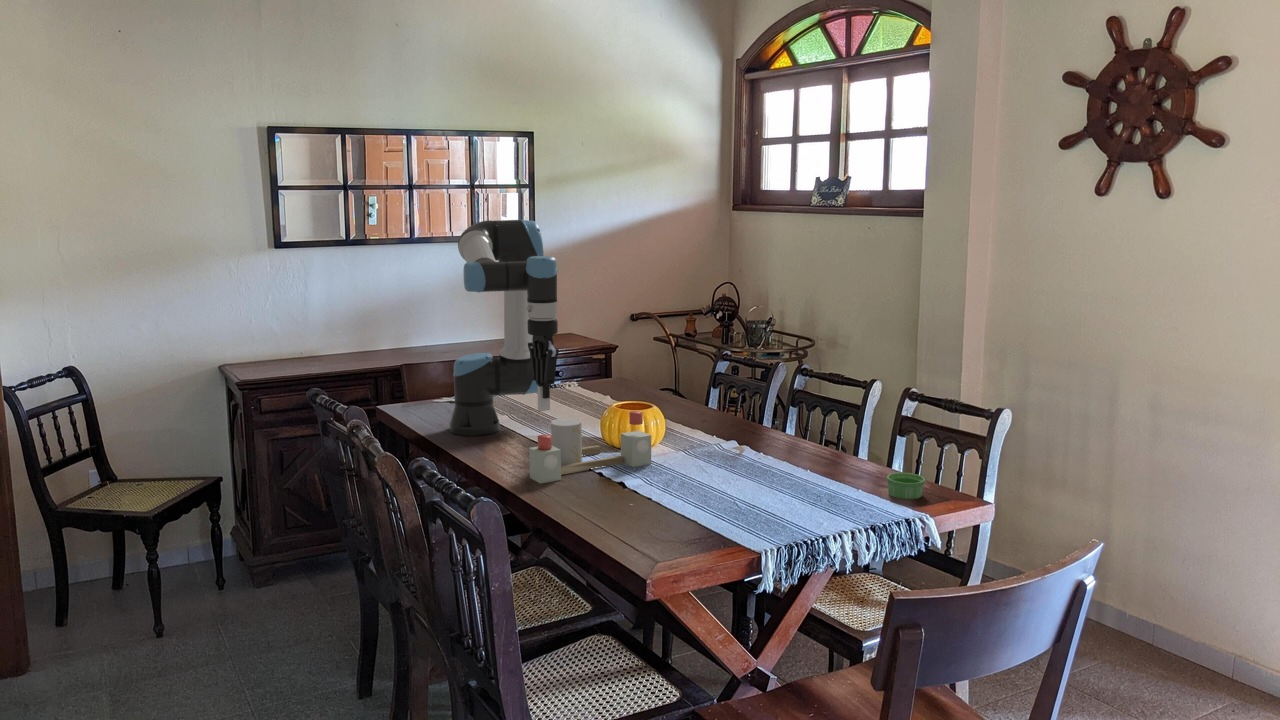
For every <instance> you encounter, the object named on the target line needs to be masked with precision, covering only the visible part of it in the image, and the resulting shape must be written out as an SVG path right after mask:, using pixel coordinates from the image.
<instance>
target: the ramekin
mask: <svg viewBox="0 0 1280 720" xmlns="http://www.w3.org/2000/svg"><path fill="white" fill-rule="evenodd" d="M886 479H887V489H888V490H887V491H888V495H889V496H891V497H893V498H896V499H900V500H918V499H920V498H922V496H923V494H924V493H923V491H924V486H925V485H924V484H925V482H926V479H925V477H924V476H922V475H921V474H920V475H919V474H916V473H912V472H893V473H890V474H888V475H887V476H886Z"/></svg>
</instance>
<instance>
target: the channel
mask: <svg viewBox="0 0 1280 720" xmlns="http://www.w3.org/2000/svg"><path fill="white" fill-rule="evenodd" d="M597 453H598V454H601V446H600V445H591V446H583V447H582V455H583V456H582V457H585V456H584V455H587V456H592V455H591V454H593V455H598V454H597ZM618 464H620V465H624V463H623V457H622V456H621V455H615V456H610V457H605V458H604V457H603V458H598V459H597V458H596V459H592V460H587V461H582V462H579V463H573V464H567V465H561V476H562V475H568V474H573V473H578V472H583V471H584V472H585V471H590V470H589V469H591V468H595V467H602V466H608V467H611V466H610V465H614V466H619V465H618ZM591 470H592V469H591Z"/></svg>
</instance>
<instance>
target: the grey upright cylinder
mask: <svg viewBox="0 0 1280 720" xmlns="http://www.w3.org/2000/svg"><path fill="white" fill-rule="evenodd" d="M550 425H551V426H550V431H551V432H550V435H551V436H552V446H554V447H556V448H558V449H560V450H561V465H567V464H573V463H579V462H583V456H582V448H583V437H582V436H583V435H582V432H583V431H582V426H583V425H582V420H580V419H576V418H569V417H568V418H557V419H553V420H552V421H550Z"/></svg>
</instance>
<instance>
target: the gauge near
mask: <svg viewBox="0 0 1280 720" xmlns="http://www.w3.org/2000/svg"><path fill="white" fill-rule="evenodd" d="M537 446H538V449H543V450H546V449H551V448H552V436H551V434H539V435H537Z"/></svg>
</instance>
